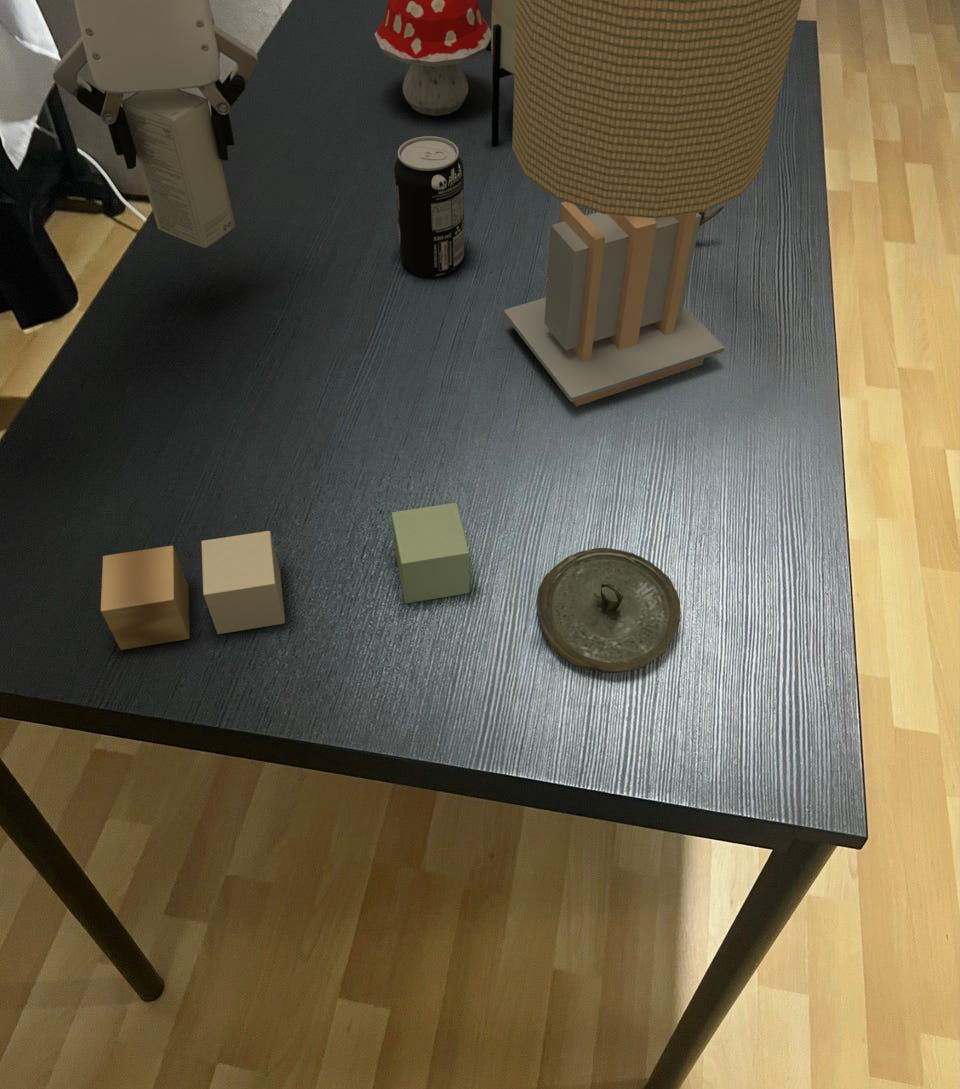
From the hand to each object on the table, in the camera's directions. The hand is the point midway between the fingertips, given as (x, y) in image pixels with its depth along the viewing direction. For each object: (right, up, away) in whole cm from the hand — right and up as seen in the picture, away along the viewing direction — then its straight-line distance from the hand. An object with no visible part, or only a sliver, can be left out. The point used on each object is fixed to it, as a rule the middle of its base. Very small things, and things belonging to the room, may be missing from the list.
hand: (177, 155), depth 86 cm
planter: (+35, +16, +33) cm, 51 cm away
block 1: (+2, -39, -12) cm, 41 cm away
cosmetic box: (0, -5, +6) cm, 7 cm away
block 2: (+9, -38, -11) cm, 41 cm away
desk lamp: (+38, -15, +8) cm, 42 cm away
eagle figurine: (+47, 0, +20) cm, 51 cm away
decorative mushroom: (+21, +21, +37) cm, 47 cm away
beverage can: (+21, -5, +16) cm, 27 cm away
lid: (+36, -40, -12) cm, 55 cm away
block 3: (+23, -36, -9) cm, 43 cm away
